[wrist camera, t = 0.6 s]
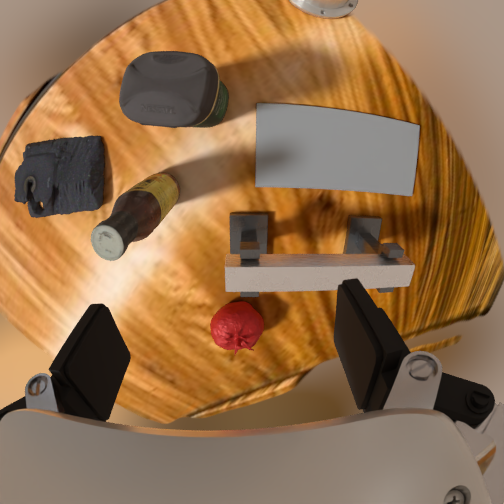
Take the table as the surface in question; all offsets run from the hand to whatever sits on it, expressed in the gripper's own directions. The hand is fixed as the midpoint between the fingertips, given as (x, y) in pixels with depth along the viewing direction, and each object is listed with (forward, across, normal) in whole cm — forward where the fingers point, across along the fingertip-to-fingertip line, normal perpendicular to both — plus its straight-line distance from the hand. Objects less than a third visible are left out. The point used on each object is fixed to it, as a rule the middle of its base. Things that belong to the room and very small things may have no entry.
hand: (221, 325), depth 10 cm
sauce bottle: (+35, +12, 0) cm, 37 cm away
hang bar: (+24, -10, +12) cm, 29 cm away
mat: (+34, -17, -3) cm, 38 cm away
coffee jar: (+34, +5, -13) cm, 37 cm away
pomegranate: (+35, +4, +27) cm, 44 cm away
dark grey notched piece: (+35, +33, -6) cm, 48 cm away
